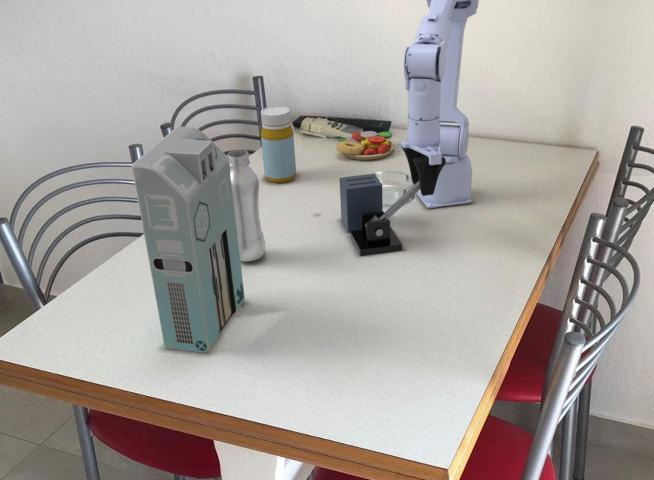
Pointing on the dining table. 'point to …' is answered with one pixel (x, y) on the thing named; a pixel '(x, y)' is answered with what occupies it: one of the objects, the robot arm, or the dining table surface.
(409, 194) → the lever
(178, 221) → the device
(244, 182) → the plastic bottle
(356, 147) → the toy food set
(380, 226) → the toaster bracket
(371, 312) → the dining table surface
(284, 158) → the bottle
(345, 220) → the toaster body
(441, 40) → the robot arm
